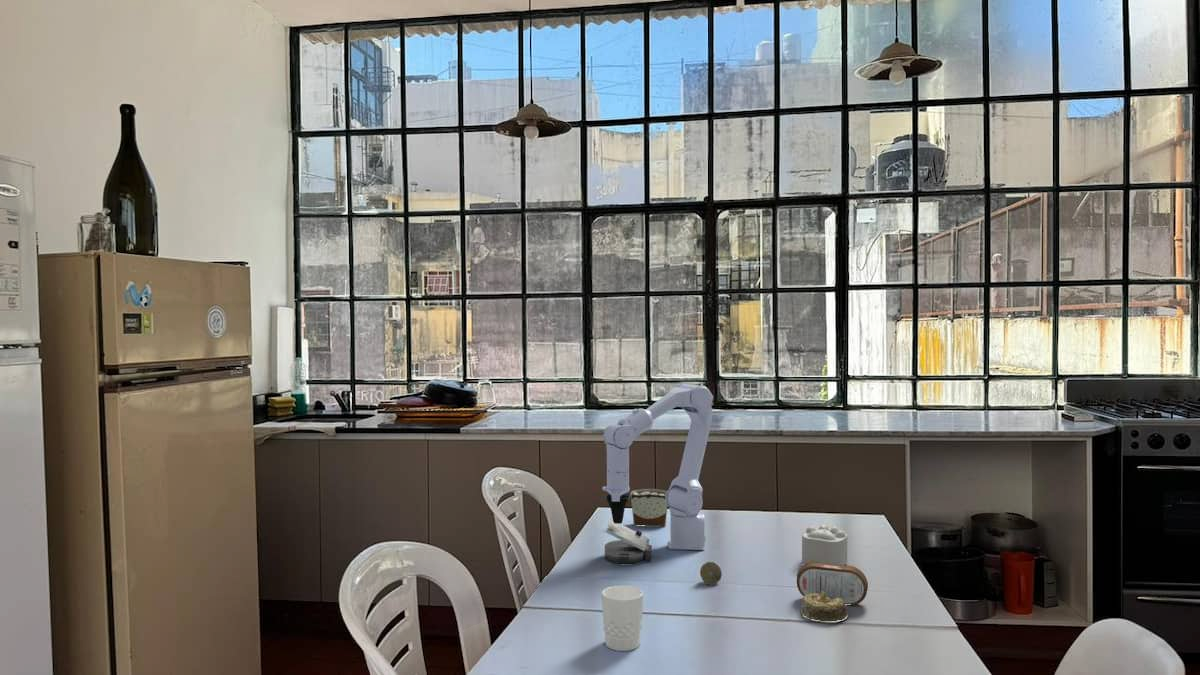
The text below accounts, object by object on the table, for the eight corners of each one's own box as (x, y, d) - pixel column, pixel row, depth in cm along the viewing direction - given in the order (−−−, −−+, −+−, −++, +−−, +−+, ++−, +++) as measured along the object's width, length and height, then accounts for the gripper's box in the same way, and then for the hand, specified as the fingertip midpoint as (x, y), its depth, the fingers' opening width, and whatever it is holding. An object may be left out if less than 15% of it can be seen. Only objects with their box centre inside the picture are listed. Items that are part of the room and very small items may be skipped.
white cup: (600, 636, 155) (600, 586, 154) (640, 634, 155) (640, 584, 155) (604, 653, 147) (603, 600, 146) (645, 652, 147) (645, 599, 147)
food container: (670, 521, 240) (670, 488, 239) (670, 526, 234) (670, 493, 233) (630, 520, 241) (630, 488, 241) (628, 525, 235) (628, 492, 235)
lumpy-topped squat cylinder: (797, 565, 198) (798, 531, 198) (812, 551, 209) (812, 519, 209) (839, 572, 193) (839, 537, 192) (852, 558, 204) (852, 524, 203)
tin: (867, 604, 171) (868, 566, 171) (867, 609, 168) (868, 570, 168) (796, 596, 176) (797, 559, 176) (795, 601, 173) (795, 563, 173)
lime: (723, 582, 185) (723, 561, 185) (711, 588, 182) (711, 566, 182) (708, 578, 188) (708, 557, 188) (696, 583, 185) (696, 562, 185)
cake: (841, 631, 159) (840, 605, 158) (792, 621, 164) (791, 597, 164) (853, 611, 167) (853, 586, 167) (807, 602, 173) (806, 579, 172)
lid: (648, 541, 208) (651, 535, 208) (647, 552, 198) (650, 547, 198) (609, 521, 209) (611, 516, 209) (605, 532, 199) (608, 526, 199)
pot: (652, 549, 212) (652, 537, 211) (650, 569, 195) (650, 556, 195) (607, 547, 213) (607, 536, 213) (601, 567, 196) (601, 555, 196)
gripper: (605, 465, 211) (605, 515, 212) (599, 476, 197) (599, 530, 197) (631, 465, 210) (631, 515, 211) (627, 476, 196) (627, 530, 196)
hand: (617, 522), depth 204 cm, fingers closed
